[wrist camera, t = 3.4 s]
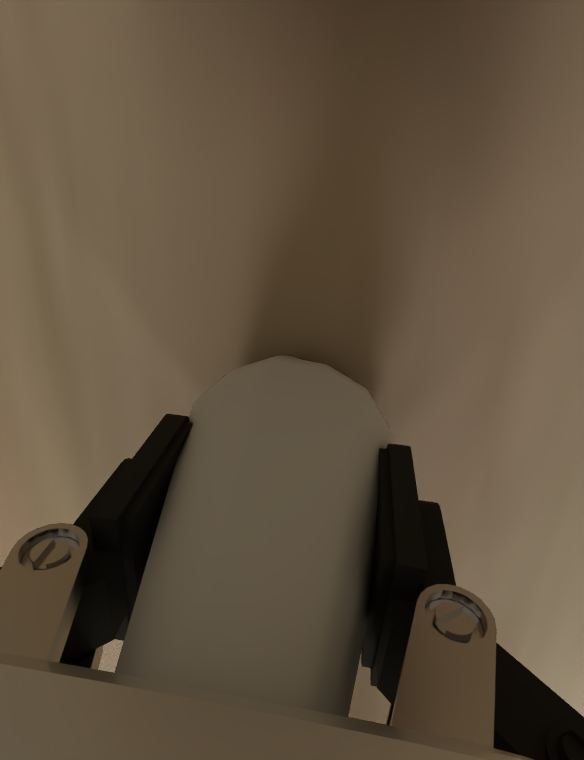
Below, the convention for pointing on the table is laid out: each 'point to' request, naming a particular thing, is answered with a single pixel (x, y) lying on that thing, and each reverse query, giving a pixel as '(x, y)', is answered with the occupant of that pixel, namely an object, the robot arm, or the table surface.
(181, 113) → the table surface
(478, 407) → the table surface
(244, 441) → the salt shaker
